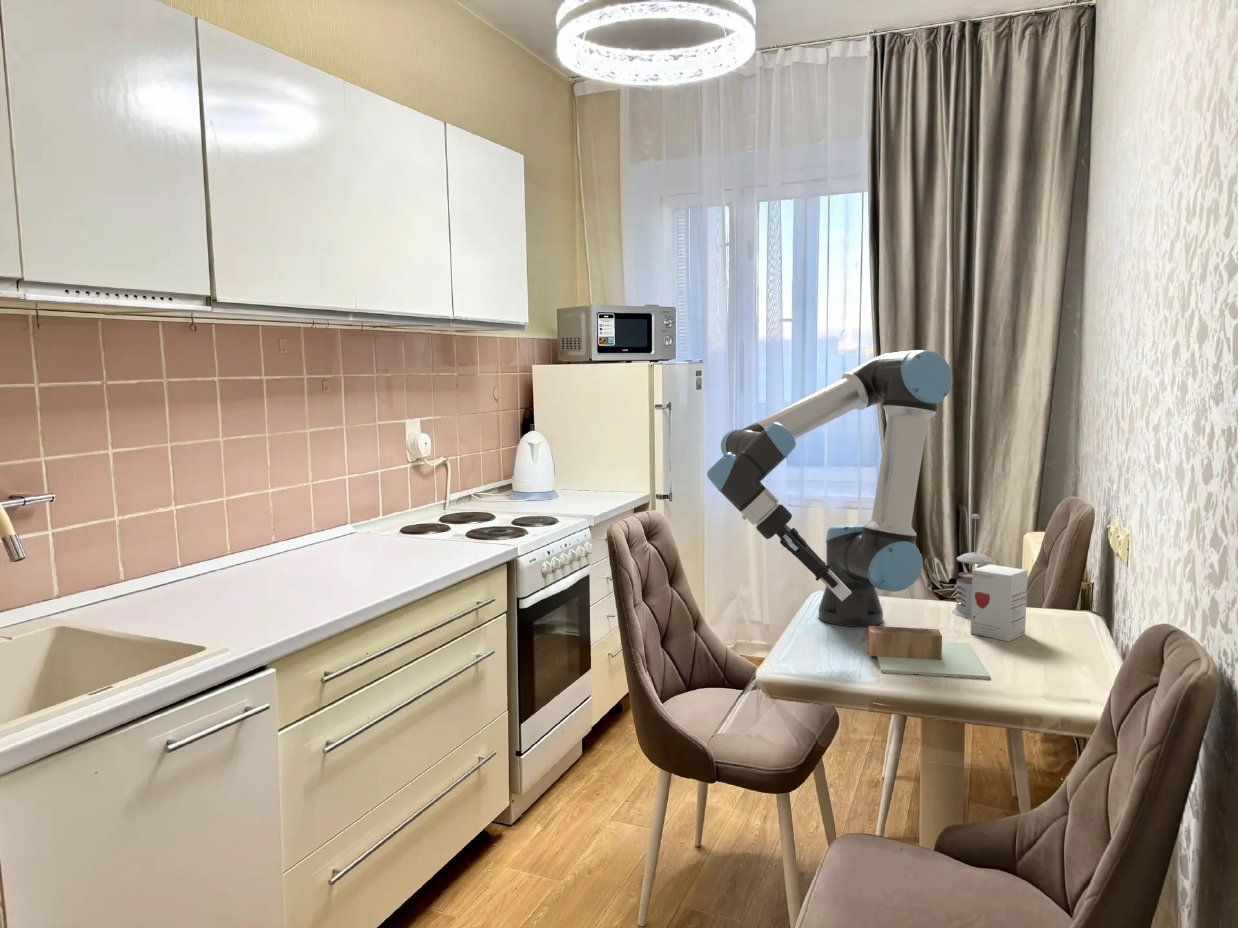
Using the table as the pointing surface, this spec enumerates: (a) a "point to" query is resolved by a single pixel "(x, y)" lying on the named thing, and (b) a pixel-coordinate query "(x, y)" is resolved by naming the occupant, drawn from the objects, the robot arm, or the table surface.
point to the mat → (940, 663)
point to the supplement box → (999, 602)
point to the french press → (968, 579)
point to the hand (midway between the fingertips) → (846, 596)
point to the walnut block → (905, 642)
